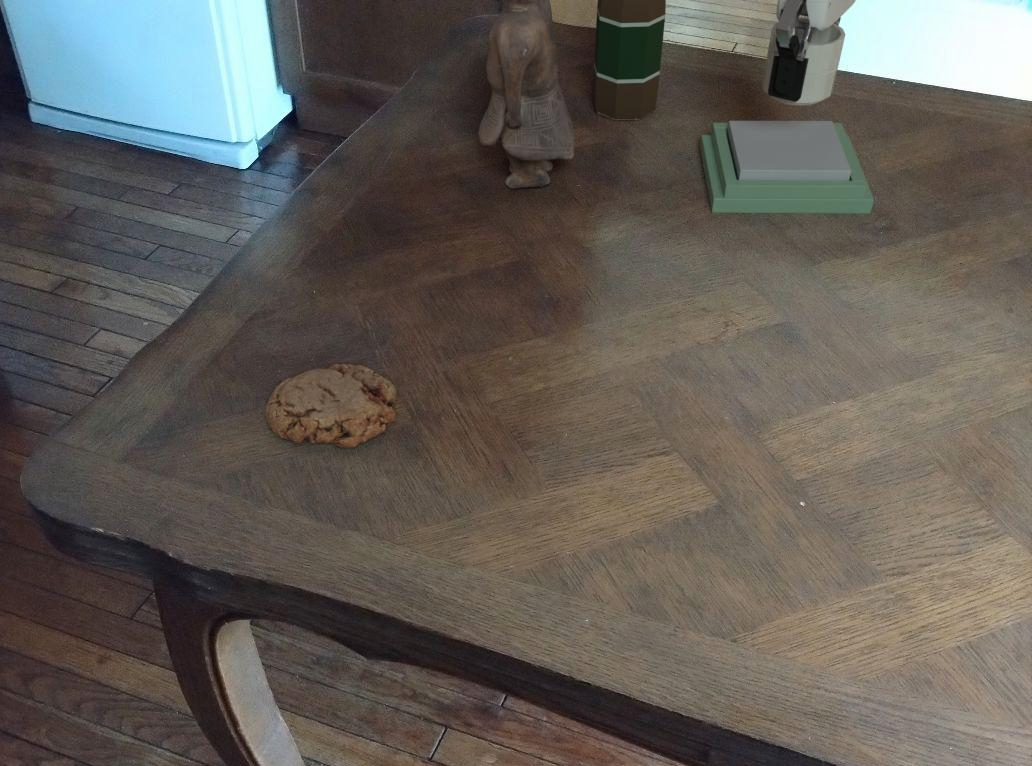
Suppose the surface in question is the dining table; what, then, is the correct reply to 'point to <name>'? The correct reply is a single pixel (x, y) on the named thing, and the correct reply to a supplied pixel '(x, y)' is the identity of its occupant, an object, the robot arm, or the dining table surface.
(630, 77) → the beer bottle
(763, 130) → the pan
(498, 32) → the clay figurine
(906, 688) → the dining table surface
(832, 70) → the cup
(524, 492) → the dining table surface
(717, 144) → the scale
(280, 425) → the cookie
